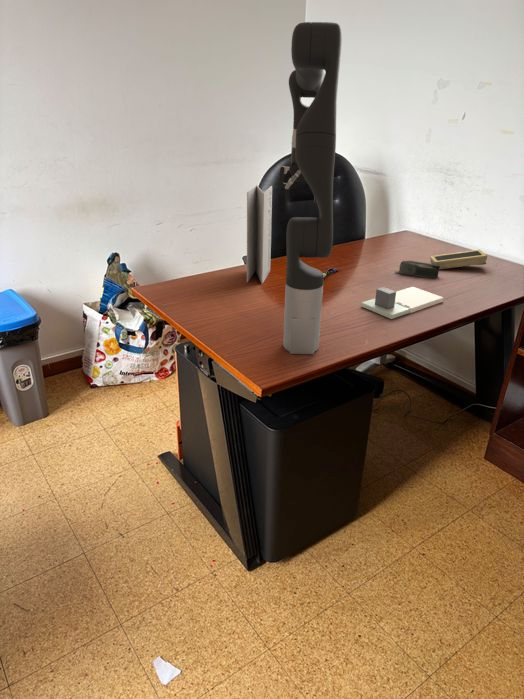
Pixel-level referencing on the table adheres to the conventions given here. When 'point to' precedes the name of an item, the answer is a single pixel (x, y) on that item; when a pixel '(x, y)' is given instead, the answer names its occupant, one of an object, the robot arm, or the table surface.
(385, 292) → the stub
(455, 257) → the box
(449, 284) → the table surface
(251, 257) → the brochure
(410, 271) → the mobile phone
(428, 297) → the cream panel
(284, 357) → the table surface
